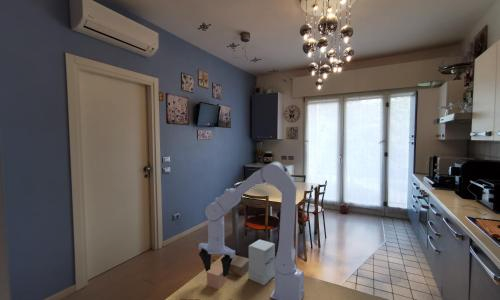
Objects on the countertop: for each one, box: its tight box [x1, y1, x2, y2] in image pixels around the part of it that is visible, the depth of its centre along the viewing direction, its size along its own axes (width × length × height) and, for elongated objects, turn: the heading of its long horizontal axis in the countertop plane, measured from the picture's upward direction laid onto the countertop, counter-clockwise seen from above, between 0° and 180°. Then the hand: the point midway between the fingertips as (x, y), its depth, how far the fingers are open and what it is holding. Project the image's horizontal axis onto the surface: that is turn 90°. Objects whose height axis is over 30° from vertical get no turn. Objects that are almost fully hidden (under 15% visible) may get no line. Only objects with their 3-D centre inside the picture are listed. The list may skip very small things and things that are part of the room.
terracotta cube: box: [206, 264, 228, 290], centre depth 84 cm, size 5×5×5 cm
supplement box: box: [248, 239, 276, 286], centre depth 88 cm, size 7×7×13 cm
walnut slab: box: [228, 254, 249, 278], centre depth 93 cm, size 8×7×4 cm
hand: (216, 272), depth 84 cm, fingers open, 7 cm apart
